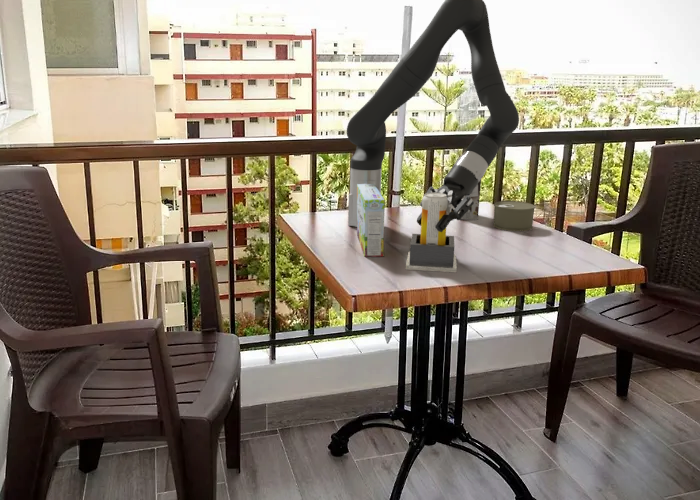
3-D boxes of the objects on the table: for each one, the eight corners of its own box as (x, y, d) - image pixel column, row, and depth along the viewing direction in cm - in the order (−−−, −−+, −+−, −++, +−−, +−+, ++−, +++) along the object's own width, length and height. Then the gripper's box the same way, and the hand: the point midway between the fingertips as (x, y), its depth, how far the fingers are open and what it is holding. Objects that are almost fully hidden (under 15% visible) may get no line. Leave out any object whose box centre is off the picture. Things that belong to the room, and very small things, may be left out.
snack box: (354, 235, 187) (356, 183, 183) (374, 235, 187) (376, 183, 183) (362, 257, 167) (364, 199, 162) (384, 257, 167) (387, 199, 163)
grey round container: (541, 230, 198) (543, 207, 196) (507, 233, 193) (510, 210, 191) (516, 221, 208) (518, 199, 207) (484, 223, 204) (486, 202, 202)
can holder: (405, 269, 158) (406, 245, 156) (408, 255, 169) (409, 232, 167) (456, 272, 156) (457, 248, 154) (455, 258, 167) (457, 235, 166)
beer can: (444, 251, 165) (447, 192, 160) (445, 258, 159) (448, 197, 155) (419, 250, 165) (422, 191, 161) (419, 257, 159) (422, 196, 155)
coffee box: (478, 220, 208) (482, 169, 204) (458, 219, 208) (461, 169, 204) (473, 213, 217) (477, 164, 212) (454, 213, 217) (457, 164, 212)
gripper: (438, 160, 166) (401, 211, 162) (481, 168, 155) (442, 223, 151) (452, 179, 170) (416, 229, 167) (494, 188, 159) (457, 242, 156)
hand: (428, 226), depth 159 cm, fingers closed on beer can, 6 cm apart
